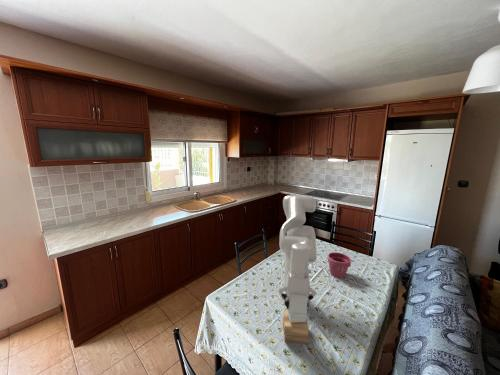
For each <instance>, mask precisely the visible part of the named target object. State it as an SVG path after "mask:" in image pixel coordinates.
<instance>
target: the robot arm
mask: <svg viewBox="0 0 500 375" xmlns="http://www.w3.org/2000/svg"><path fill="white" fill-rule="evenodd" d="M282 207H283V211H284V215H285V216H286V221H285V222H284V223H283V224H282V226H281V228H280V231H279V249H280V250H281V252H283V256H284V269H283V270H284V271H283V272H284V274H283V286H282V287H280V288H279V289H278V293H279V295H280V297H281V298H282V299H283V300H284V306H285V307H286V308H287V309H288V306H289V300H288V299H289V297H290V294H295V295H307V297H308V301H307V308H309V304H310V302H311V300H313V299H314V297H315V296H317V290H315V289H313V288H312V287H311V286H310V284H311V283H310V275H309V274H312V270H311V269H309V263H311V264H312V263H315V262H316V260H317V240H316V238H317V237H316V232H315V228H314V227H313V226H312V225H311V226H310V225H304V224H305V223H306V221H307V218H306V212H307V213H314V212H315V211H316V210H317V209H316V208H317V202H316V199H315V197H313V196H311V195H298V194H297V195H296V194H294V195H293V194H292V195H291V194H290V195H286V196H284V197H283V199H282ZM286 308H285V309H286Z"/></svg>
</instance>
